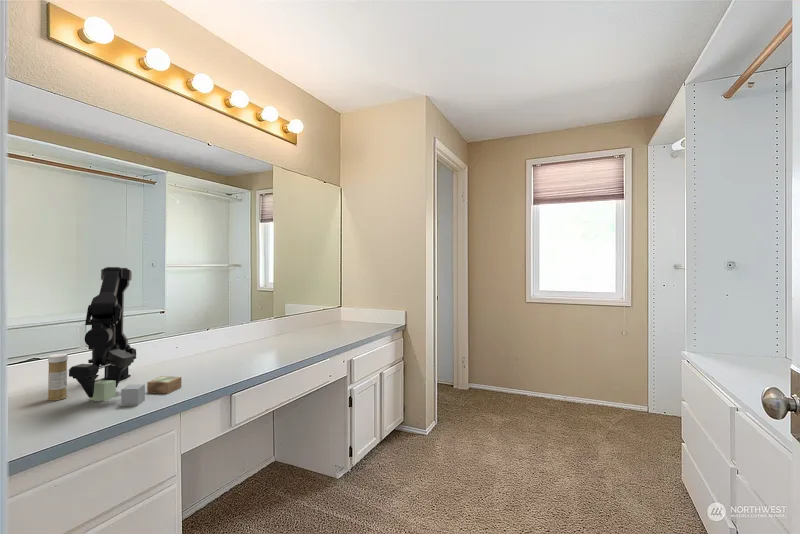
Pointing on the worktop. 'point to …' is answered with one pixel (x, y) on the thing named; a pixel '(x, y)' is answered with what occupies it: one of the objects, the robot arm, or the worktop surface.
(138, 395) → the slate block
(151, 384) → the base block
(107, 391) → the sage block
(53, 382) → the sprinkles bottle
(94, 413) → the worktop surface
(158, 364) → the worktop surface
